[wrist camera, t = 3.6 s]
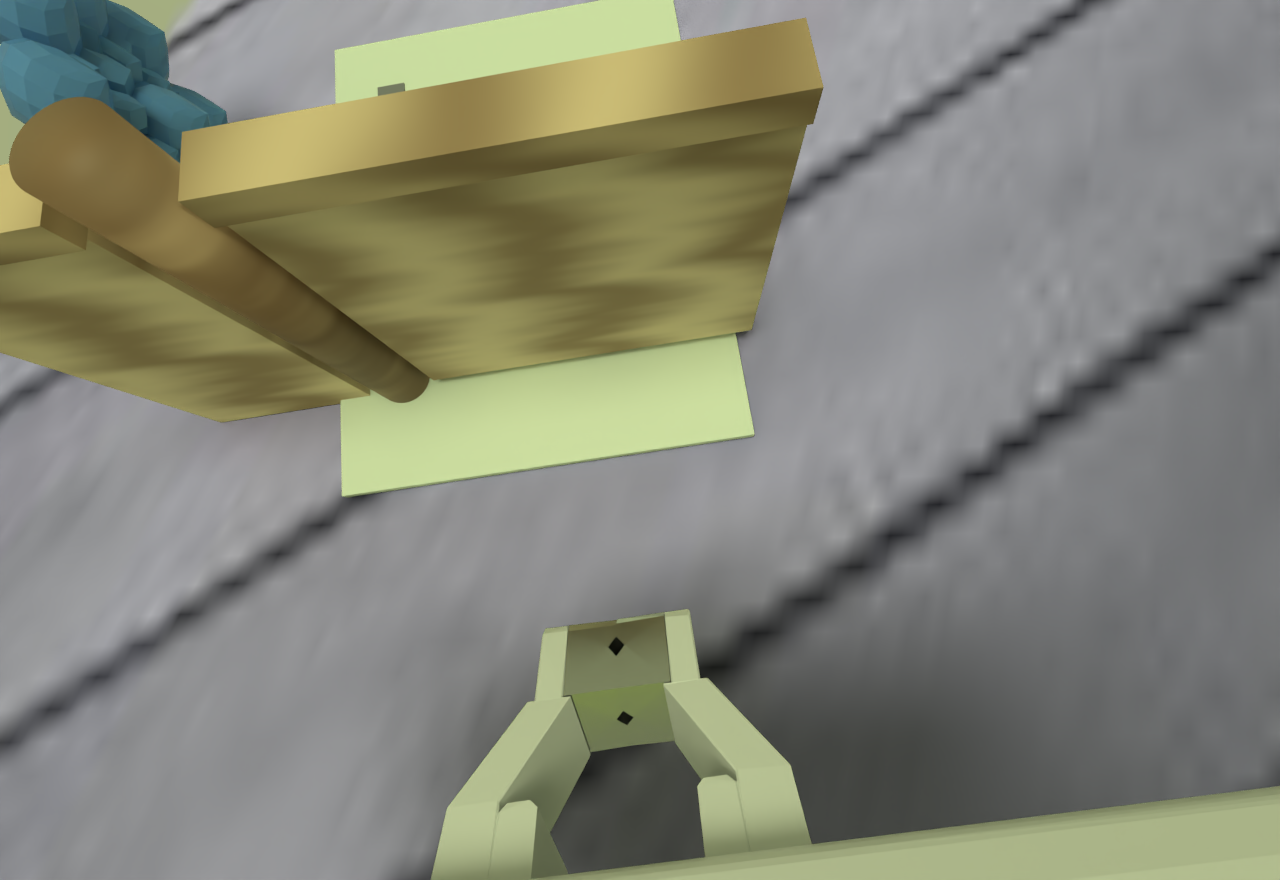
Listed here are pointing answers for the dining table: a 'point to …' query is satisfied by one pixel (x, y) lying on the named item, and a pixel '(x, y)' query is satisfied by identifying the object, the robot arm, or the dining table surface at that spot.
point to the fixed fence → (162, 284)
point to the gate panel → (531, 199)
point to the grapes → (96, 66)
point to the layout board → (553, 391)
